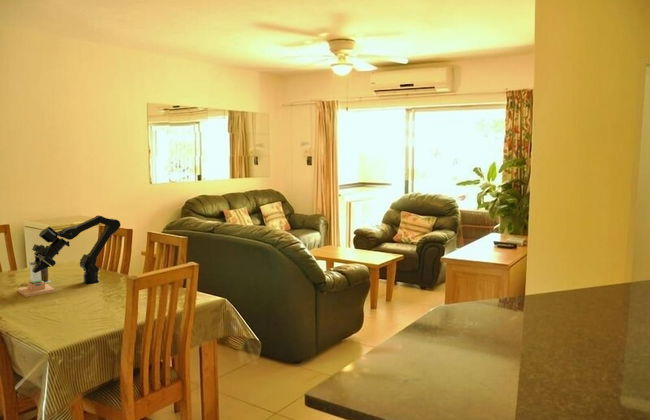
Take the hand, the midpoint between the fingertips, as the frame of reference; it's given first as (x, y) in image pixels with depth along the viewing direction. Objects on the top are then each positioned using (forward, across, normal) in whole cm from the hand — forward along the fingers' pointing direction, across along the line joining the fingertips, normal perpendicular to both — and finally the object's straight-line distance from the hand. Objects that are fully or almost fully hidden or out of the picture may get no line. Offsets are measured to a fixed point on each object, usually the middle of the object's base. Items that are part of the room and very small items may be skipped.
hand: (32, 271), depth 261 cm
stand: (+7, 0, +9) cm, 11 cm away
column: (+3, 0, +5) cm, 6 cm away
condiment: (+1, -20, +15) cm, 25 cm away
